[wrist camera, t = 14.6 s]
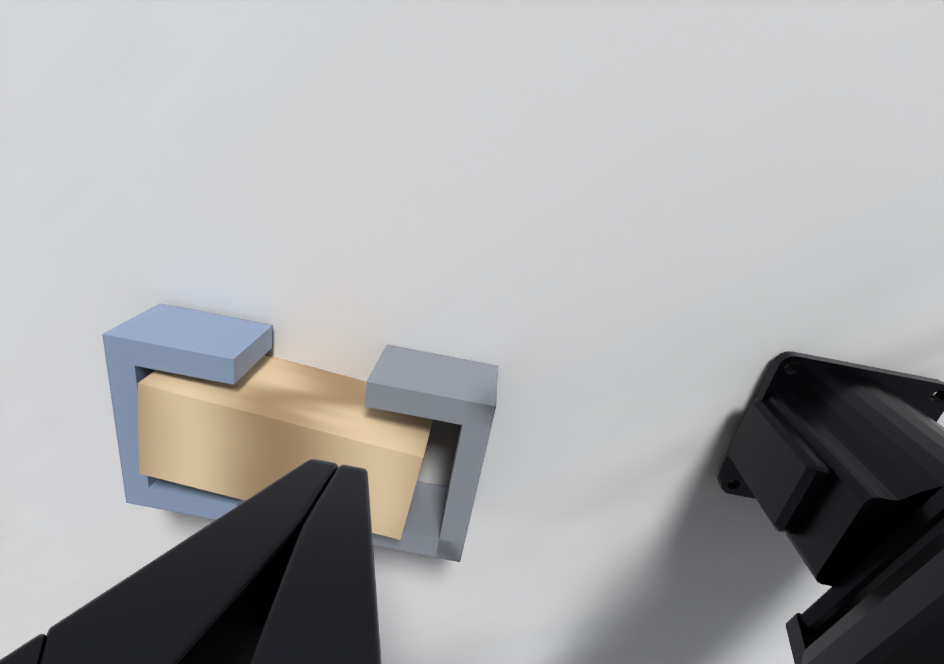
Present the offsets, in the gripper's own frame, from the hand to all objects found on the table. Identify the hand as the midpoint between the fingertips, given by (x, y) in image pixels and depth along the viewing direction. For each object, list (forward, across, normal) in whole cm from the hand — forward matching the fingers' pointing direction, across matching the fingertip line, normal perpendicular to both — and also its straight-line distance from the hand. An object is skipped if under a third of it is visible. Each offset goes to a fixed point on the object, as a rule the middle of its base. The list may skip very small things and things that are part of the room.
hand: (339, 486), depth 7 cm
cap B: (+12, +9, +7) cm, 17 cm away
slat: (+12, +4, +7) cm, 15 cm away
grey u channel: (+12, 0, +7) cm, 14 cm away
